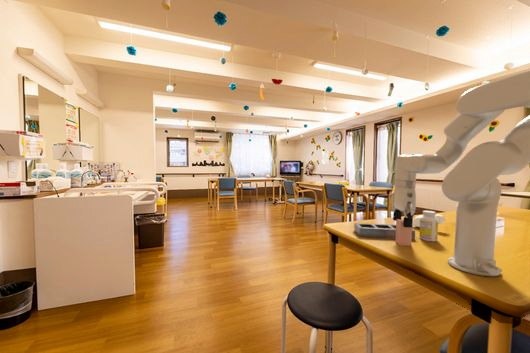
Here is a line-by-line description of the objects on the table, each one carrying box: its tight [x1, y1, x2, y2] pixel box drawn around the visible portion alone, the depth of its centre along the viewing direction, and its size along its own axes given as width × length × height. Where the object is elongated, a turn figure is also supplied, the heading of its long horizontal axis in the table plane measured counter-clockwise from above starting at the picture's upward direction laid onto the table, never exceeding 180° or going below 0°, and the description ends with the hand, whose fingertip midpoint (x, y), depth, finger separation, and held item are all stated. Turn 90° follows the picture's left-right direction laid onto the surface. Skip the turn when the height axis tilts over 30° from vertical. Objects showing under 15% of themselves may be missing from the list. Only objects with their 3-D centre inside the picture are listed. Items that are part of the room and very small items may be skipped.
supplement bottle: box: [419, 210, 439, 242], centre depth 102 cm, size 7×7×13 cm
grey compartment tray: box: [353, 222, 416, 240], centre depth 108 cm, size 10×24×4 cm, turn 82°
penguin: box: [412, 213, 446, 228], centre depth 119 cm, size 9×8×15 cm
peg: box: [395, 218, 413, 247], centre depth 96 cm, size 4×4×10 cm
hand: (402, 223), depth 96 cm, fingers open, 9 cm apart
